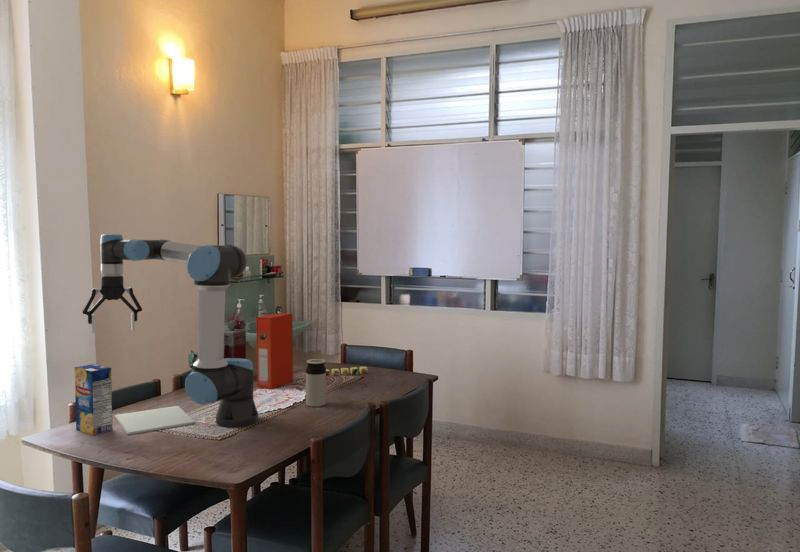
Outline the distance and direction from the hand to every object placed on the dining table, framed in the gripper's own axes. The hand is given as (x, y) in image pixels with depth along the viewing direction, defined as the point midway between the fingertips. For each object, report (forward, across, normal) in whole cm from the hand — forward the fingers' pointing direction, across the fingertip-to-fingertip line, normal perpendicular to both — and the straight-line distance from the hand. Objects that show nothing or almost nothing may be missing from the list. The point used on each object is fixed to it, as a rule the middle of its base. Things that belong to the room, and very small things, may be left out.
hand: (113, 331), depth 222 cm
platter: (+32, -106, -13) cm, 111 cm away
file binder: (+32, -68, -13) cm, 77 cm away
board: (+31, -11, +16) cm, 37 cm away
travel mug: (+32, -71, +27) cm, 82 cm away
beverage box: (+32, +8, +17) cm, 37 cm away
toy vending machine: (+32, -54, -32) cm, 70 cm away
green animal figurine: (+32, -35, -13) cm, 49 cm away
